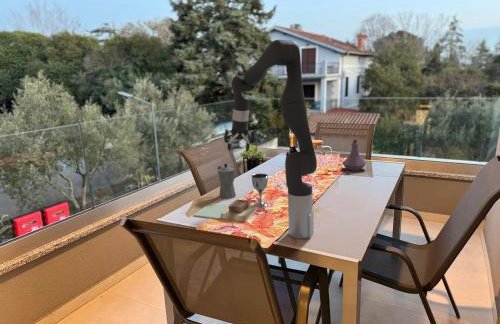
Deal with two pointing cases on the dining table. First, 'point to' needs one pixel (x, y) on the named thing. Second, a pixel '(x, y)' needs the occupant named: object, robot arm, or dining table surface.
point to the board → (239, 214)
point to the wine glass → (260, 186)
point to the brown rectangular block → (238, 206)
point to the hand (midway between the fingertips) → (238, 150)
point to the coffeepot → (226, 182)
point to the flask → (354, 159)
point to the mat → (211, 211)
